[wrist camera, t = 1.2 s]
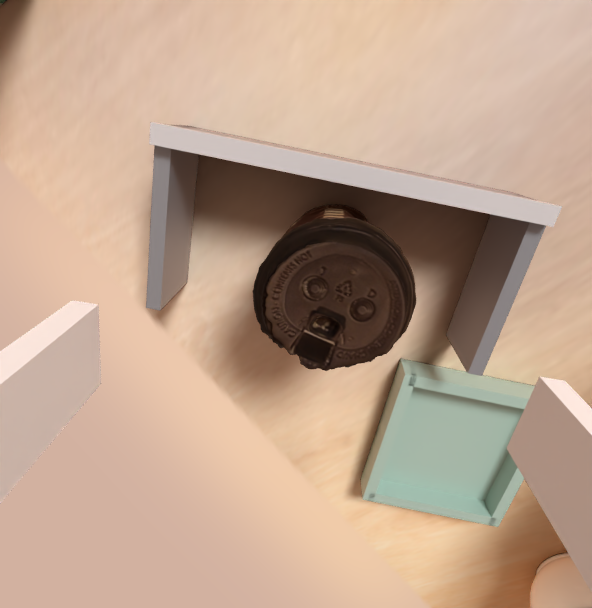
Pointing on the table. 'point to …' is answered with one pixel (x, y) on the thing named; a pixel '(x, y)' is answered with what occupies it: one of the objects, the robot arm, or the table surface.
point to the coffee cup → (334, 290)
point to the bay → (500, 204)
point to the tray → (446, 444)
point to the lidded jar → (559, 585)
